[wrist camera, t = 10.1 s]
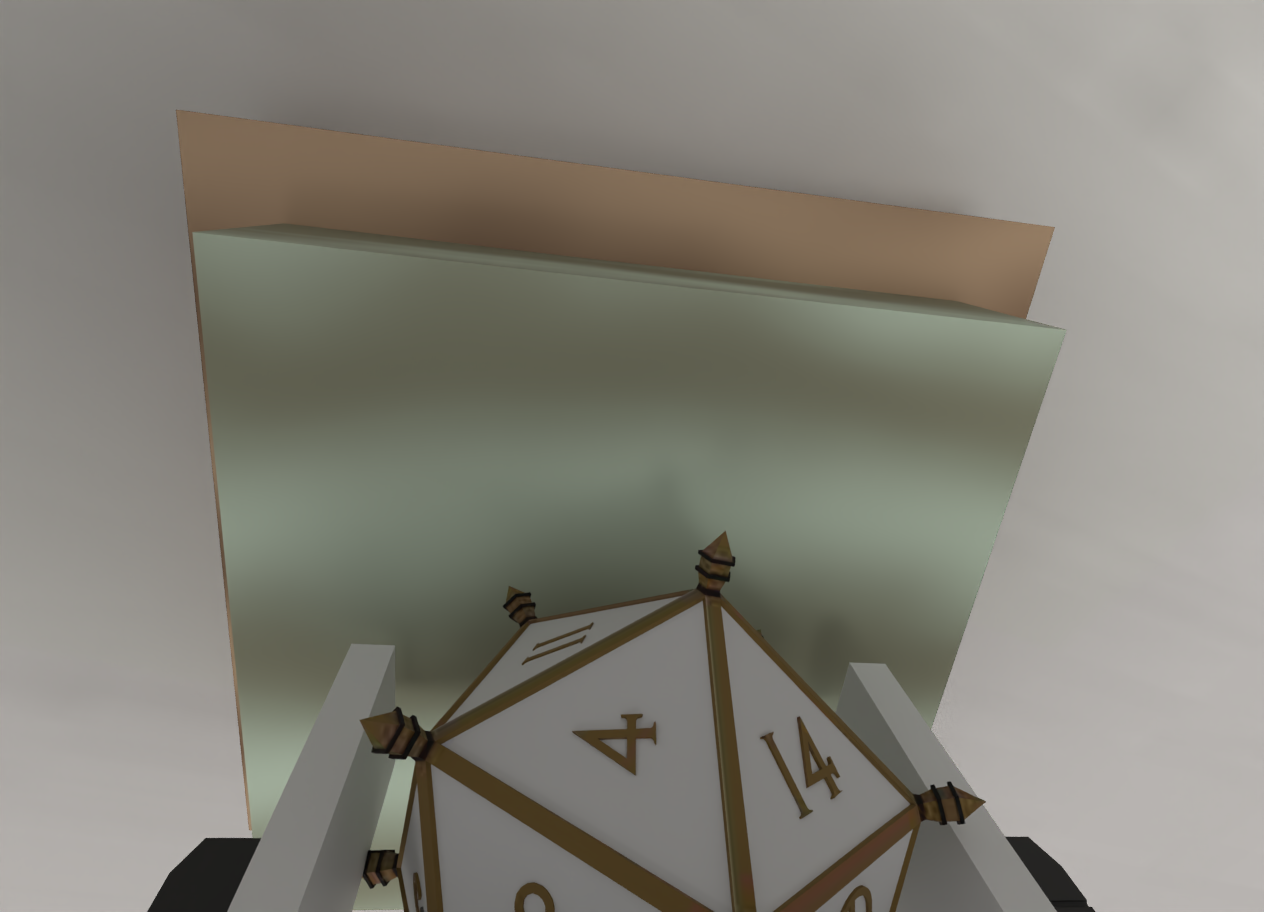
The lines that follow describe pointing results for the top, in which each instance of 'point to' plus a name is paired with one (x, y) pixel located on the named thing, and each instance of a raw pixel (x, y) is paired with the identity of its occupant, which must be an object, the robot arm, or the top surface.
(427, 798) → the game die
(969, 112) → the top surface
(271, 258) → the tower base
